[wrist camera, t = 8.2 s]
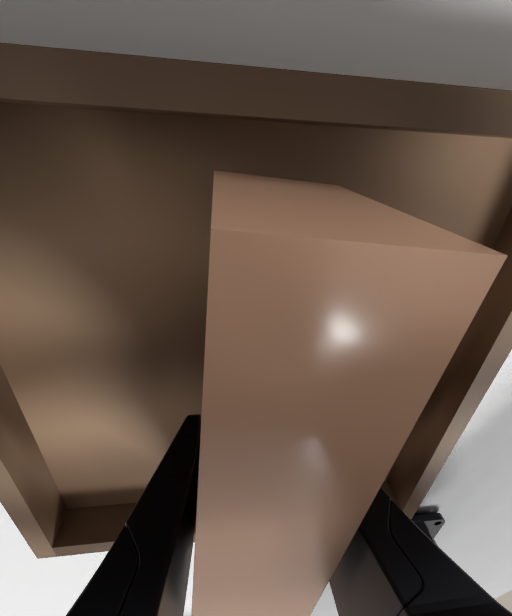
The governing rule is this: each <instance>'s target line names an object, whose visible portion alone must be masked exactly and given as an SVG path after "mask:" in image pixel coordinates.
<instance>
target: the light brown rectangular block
mask: <svg viewBox="0 0 512 616" xmlns="http://www.w3.org/2000/svg"><path fill="white" fill-rule="evenodd" d="M507 256H508V255H505V254H503V253H500V252H498V251H495V250H493V249H491V248H488V247H486V246H483V245H481V244H479V243H476V242H474V241H471V240H469V239H466V238H464V237H462V236H459V235H457V234H454V233H452V232H450V231H447V230H445V229H442V228H440V227H437V226H435V225H433V224H430V223H428V222H425V221H423V220H420V219H418V218H416V217H413V216H411V215H408V214H406V213H404V212H401V211H399V210H396V209H394V208H391V207H389V206H387V205H384V204H382V203H379V202H377V201H375V200H372V199H370V198H367V197H365V196H362V195H360V194H358V193H355V192H353V191H350V190H348V189H346V188H343V187H341V186H338V185H332V184H323V183H315V182H307V181H299V180H291V179H282V178H274V177H266V176H258V175H249V174H241V173H233V172H225V171H217V170H214V180H213V199H212V217H211V237H210V256H209V276H208V296H207V316H206V336H205V356H204V376H203V396H202V416H201V436H200V456H199V476H198V496H197V516H196V536H195V556H194V576H193V596H192V615H191V616H310V615H311V613H312V611H313V609H314V607H315V606H316V604H317V602H318V600H319V598H320V597H321V595H322V593H323V591H324V589H325V587H326V586H327V584H328V582H329V580H330V578H331V576H332V575H333V573H334V571H335V569H336V567H337V566H338V564H339V562H340V560H341V558H342V556H343V555H344V553H345V551H346V549H347V547H348V546H349V544H350V542H351V540H352V538H353V536H354V535H355V533H356V531H357V529H358V527H359V525H360V524H361V522H362V520H363V518H364V516H365V515H366V513H367V511H368V509H369V507H370V505H371V504H372V502H373V500H374V498H375V496H376V495H377V493H378V491H379V489H380V487H381V485H382V484H383V482H384V480H385V478H386V476H387V475H388V473H389V471H390V469H391V467H392V465H393V464H394V462H395V460H396V458H397V456H398V454H399V453H400V451H401V449H402V447H403V445H404V444H405V442H406V440H407V438H408V436H409V434H410V433H411V431H412V429H413V427H414V425H415V424H416V422H417V420H418V418H419V416H420V414H421V413H422V411H423V409H424V407H425V405H426V403H427V402H428V400H429V398H430V396H431V394H432V393H433V391H434V389H435V387H436V385H437V383H438V382H439V380H440V378H441V376H442V374H443V373H444V371H445V369H446V367H447V365H448V363H449V362H450V360H451V358H452V356H453V354H454V352H455V351H456V349H457V347H458V345H459V343H460V342H461V340H462V338H463V336H464V334H465V332H466V331H467V329H468V327H469V325H470V323H471V322H472V320H473V318H474V316H475V314H476V312H477V311H478V309H479V307H480V305H481V303H482V301H483V300H484V298H485V296H486V294H487V292H488V291H489V289H490V287H491V285H492V283H493V281H494V280H495V278H496V276H497V274H498V272H499V271H500V269H501V267H502V265H503V263H504V261H505V260H506V258H507Z"/></svg>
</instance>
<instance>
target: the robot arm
mask: <svg viewBox="0 0 512 616" xmlns="http://www.w3.org/2000/svg"><path fill="white" fill-rule="evenodd" d="M200 436H201V415H199V414H193V415H188V416H187V417H186V418H185V420H184V422H183V423H182V425H181V427H180V429H179V430H178V432H177V434H176V436H175V437H174V439H173V441H172V443H171V444H170V446H169V448H168V450H167V451H166V453H165V455H164V456H163V458H162V460H161V462H160V463H159V465H158V467H157V469H156V470H155V472H154V474H153V476H152V477H151V479H150V481H149V483H148V484H147V486H146V488H145V490H144V491H143V493H142V495H141V497H140V498H139V500H138V502H137V504H136V505H135V507H134V509H133V511H132V512H131V514H130V516H129V518H128V519H127V521H126V523H125V524H126V526H123V528H122V529H121V531H120V533H119V535H118V536H117V538H116V540H115V542H114V543H113V545H112V547H111V548H110V550H109V552H108V553H107V555H106V557H105V558H104V560H103V561H102V563H101V565H100V566H99V568H98V569H97V571H96V572H95V574H94V575H93V577H92V578H91V580H90V581H89V583H88V584H87V586H86V587H85V589H84V590H83V592H82V593H81V595H80V596H79V597H78V599H77V600H76V602H75V603H74V605H73V606H72V608H71V609H70V610H69V612H68V613H67V615H66V616H183V612H184V605H185V598H186V591H187V583H188V576H189V569H190V562H191V554H192V547H193V540H194V533H195V525H196V516H197V496H198V476H199V456H200ZM444 523H445V520H444V518H443V517H442V515H441V514H440V513H433V514H424V515H414V516H413V518H412V519H410V518H409V517H408V516H407V515H406V514H405V513H404V512H403V511H402V510H401V509H400V507H399V506H398V505H397V504H396V503H395V502H394V501H393V500H391V498H390V497H389V496H388V494H387V493H386V492H385V491H384V490H383V489H382V488H381V487H380V489H379V491H378V493H377V495H376V496H375V498H374V500H373V502H372V504H371V505H370V507H369V509H368V511H367V513H366V515H365V516H364V518H363V520H362V522H361V524H360V525H359V527H358V529H357V531H356V533H355V535H354V536H353V538H352V540H351V542H350V544H349V546H348V547H347V549H346V551H345V553H344V555H343V556H342V558H341V560H340V562H339V564H338V566H337V567H336V569H335V571H334V573H333V575H332V576H331V578H330V580H329V582H330V586H331V589H332V593H333V596H334V600H335V604H336V607H337V611H338V614H339V616H512V613H511V612H510V611H508V610H507V609H506V608H504V607H503V606H502V605H501V604H499V603H498V602H497V601H496V600H495V599H494V598H492V597H491V596H490V595H489V594H488V593H487V592H486V591H485V590H484V589H483V588H482V587H480V586H479V585H478V584H477V583H476V582H475V581H474V580H473V579H472V578H471V577H470V576H469V575H468V574H467V573H466V572H464V571H463V570H462V569H461V568H460V567H459V566H458V565H457V564H456V563H455V562H454V561H453V560H452V559H451V558H450V557H448V556H447V555H446V554H445V553H444V552H443V551H442V550H441V549H440V548H439V547H438V546H437V544H436V542H435V540H434V537H435V536H436V534H437V533H438V531H439V530H440V529H441V527H442V526H443V524H444Z"/></svg>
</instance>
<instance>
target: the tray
mask: <svg viewBox="0 0 512 616" xmlns="http://www.w3.org/2000/svg"><path fill="white" fill-rule="evenodd" d="M214 170H217V171H225V172H233V173H241V174H249V175H258V176H266V177H274V178H282V179H291V180H299V181H307V182H315V183H323V184H332V185H338V186H341V187H343V188H346V189H348V190H350V191H353V192H355V193H358V194H360V195H362V196H365V197H367V198H370V199H372V200H375V201H377V202H379V203H382V204H384V205H387V206H389V207H391V208H394V209H396V210H399V211H401V212H404V213H406V214H408V215H411V216H413V217H416V218H418V219H420V220H423V221H425V222H428V223H430V224H433V225H435V226H437V227H440V228H442V229H445V230H447V231H450V232H452V233H454V234H457V235H459V236H462V237H464V238H466V239H469V240H471V241H474V242H476V243H479V244H481V245H483V246H486V247H488V248H491V249H493V250H495V251H498V252H500V253H503V254H505V255H508V256H507V258H506V260H505V261H504V263H503V265H502V267H501V269H500V271H499V272H498V274H497V276H496V278H495V280H494V281H493V283H492V285H491V287H490V289H489V291H488V292H487V294H486V296H485V298H484V300H483V301H482V303H481V305H480V307H479V309H478V311H477V312H476V314H475V316H474V318H473V320H472V322H471V323H470V325H469V327H468V329H467V331H466V332H465V334H464V336H463V338H462V340H461V342H460V343H459V345H458V347H457V349H456V351H455V352H454V354H453V356H452V358H451V360H450V362H449V363H448V365H447V367H446V369H445V371H444V373H443V374H442V376H441V378H440V380H439V382H438V383H437V385H436V387H435V389H434V391H433V393H432V394H431V396H430V398H429V400H428V402H427V403H426V405H425V407H424V409H423V411H422V413H421V414H420V416H419V418H418V420H417V422H416V424H415V425H414V427H413V429H412V431H411V433H410V434H409V436H408V438H407V440H406V442H405V444H404V445H403V447H402V449H401V451H400V453H399V454H398V456H397V458H396V460H395V462H394V464H393V465H392V467H391V469H390V471H389V473H388V475H387V476H386V478H385V480H384V482H383V484H382V485H381V488H382V489H383V490H384V491H385V492H386V493H387V494H388V496H389V497H390V498H391V500H393V501H394V502H395V503H396V504H397V505H398V506H399V507H400V509H401V510H402V511H403V512H404V513H405V514H406V515H407V516H408V517H409V518H410V519H412V518H413V516H414V514H415V513H416V511H417V509H418V507H419V506H420V504H421V502H422V501H423V499H424V497H425V496H426V494H427V492H428V490H429V489H430V487H431V485H432V484H433V482H434V480H435V479H436V477H437V475H438V473H439V472H440V470H441V468H442V467H443V465H444V463H445V462H446V460H447V458H448V456H449V455H450V453H451V451H452V450H453V448H454V446H455V445H456V443H457V441H458V439H459V438H460V436H461V434H462V433H463V431H464V429H465V428H466V426H467V424H468V422H469V421H470V419H471V417H472V416H473V414H474V412H475V411H476V409H477V407H478V405H479V404H480V402H481V400H482V399H483V397H484V395H485V394H486V392H487V390H488V388H489V387H490V385H491V383H492V382H493V380H494V378H495V377H496V375H497V373H498V371H499V370H500V368H501V366H502V365H503V363H504V361H505V360H506V358H507V356H508V354H509V353H510V351H511V349H512V91H510V90H499V89H489V88H478V87H467V86H456V85H446V84H435V83H424V82H414V81H403V80H392V79H382V78H371V77H360V76H350V75H339V74H328V73H318V72H307V71H296V70H285V69H275V68H264V67H253V66H243V65H232V64H221V63H211V62H200V61H189V60H179V59H168V58H157V57H147V56H136V55H125V54H114V53H104V52H93V51H82V50H72V49H61V48H50V47H40V46H29V45H18V44H8V43H0V502H1V503H2V505H3V506H4V508H5V510H6V511H7V513H8V514H9V516H10V517H11V519H12V520H13V522H14V523H15V525H16V526H17V528H18V529H19V531H20V533H21V534H22V536H23V537H24V539H25V540H26V542H27V543H28V545H29V546H30V548H31V549H32V551H33V552H34V554H35V555H36V557H37V559H38V558H48V557H57V556H66V555H76V554H85V553H95V552H104V551H109V550H110V548H111V547H112V545H113V543H114V542H115V540H116V538H117V536H118V535H119V533H120V531H121V529H122V528H123V526H126V524H125V523H126V521H127V519H128V518H129V516H130V514H131V512H132V511H133V509H134V507H135V505H136V504H137V502H138V500H139V498H140V497H141V495H142V493H143V491H144V490H145V488H146V486H147V484H148V483H149V481H150V479H151V477H152V476H153V474H154V472H155V470H156V469H157V467H158V465H159V463H160V462H161V460H162V458H163V456H164V455H165V453H166V451H167V450H168V448H169V446H170V444H171V443H172V441H173V439H174V437H175V436H176V434H177V432H178V430H179V429H180V427H181V425H182V423H183V422H184V420H185V418H186V417H187V416H188V415H193V414H199V415H201V416H202V396H203V376H204V356H205V336H206V316H207V296H208V276H209V256H210V237H211V217H212V199H213V180H214ZM195 536H196V525H195V533H194V540H193V542H195Z"/></svg>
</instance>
